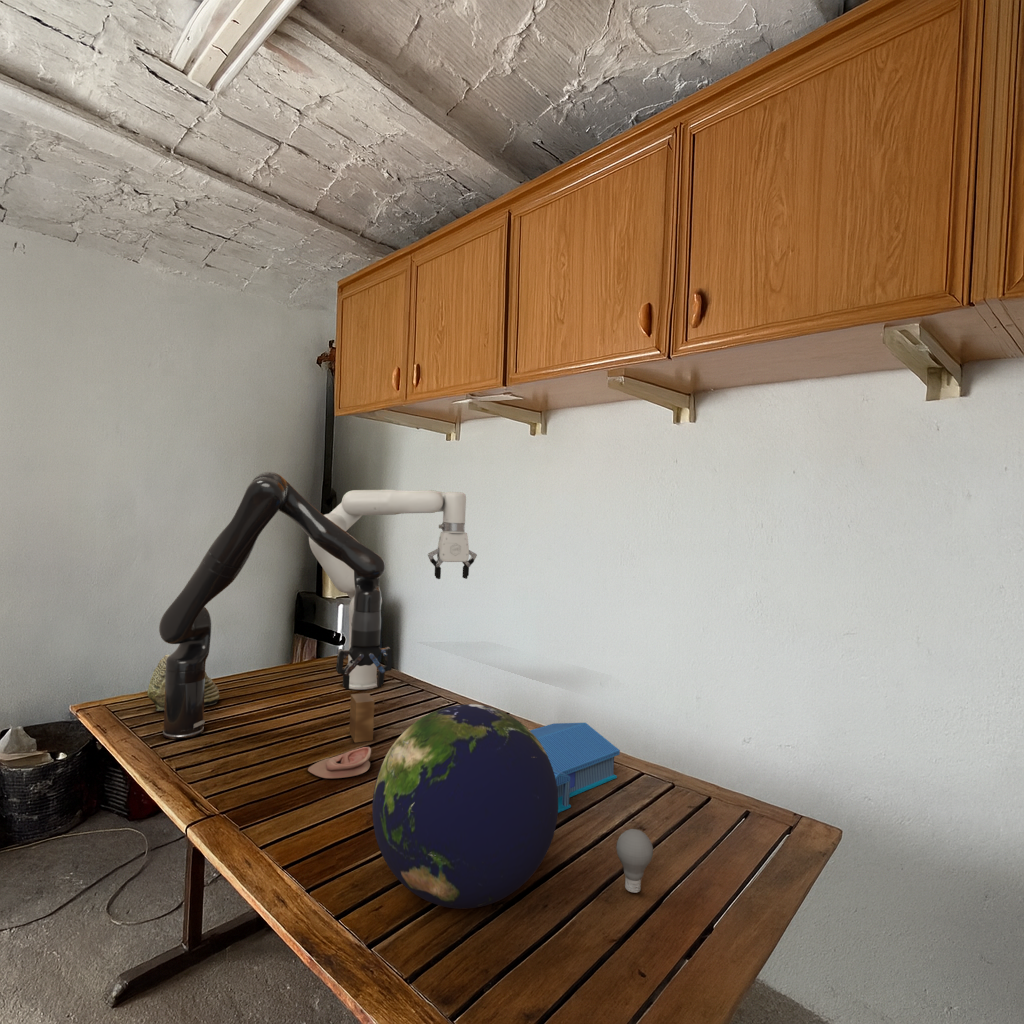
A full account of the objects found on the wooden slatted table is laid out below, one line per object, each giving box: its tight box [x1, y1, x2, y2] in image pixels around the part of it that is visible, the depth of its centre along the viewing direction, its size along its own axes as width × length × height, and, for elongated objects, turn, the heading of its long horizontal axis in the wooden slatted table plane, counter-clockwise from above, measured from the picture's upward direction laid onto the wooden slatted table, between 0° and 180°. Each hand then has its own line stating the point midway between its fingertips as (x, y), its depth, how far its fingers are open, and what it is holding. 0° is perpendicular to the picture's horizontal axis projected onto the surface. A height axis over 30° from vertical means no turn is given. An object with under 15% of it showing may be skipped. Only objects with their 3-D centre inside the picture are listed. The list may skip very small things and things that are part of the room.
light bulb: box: [615, 828, 654, 894], centre depth 106 cm, size 6×6×10 cm
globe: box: [371, 703, 559, 910], centre depth 103 cm, size 30×30×30 cm
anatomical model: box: [307, 746, 372, 779], centre depth 147 cm, size 13×4×12 cm
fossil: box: [147, 654, 221, 712], centre depth 185 cm, size 9×18×15 cm, turn 132°
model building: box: [529, 722, 621, 814], centre depth 143 cm, size 39×24×10 cm, turn 132°
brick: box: [348, 692, 375, 743], centre depth 168 cm, size 5×7×10 cm, turn 25°
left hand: (363, 687), depth 168 cm, fingers open, 8 cm apart
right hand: (451, 578), depth 216 cm, fingers open, 9 cm apart
